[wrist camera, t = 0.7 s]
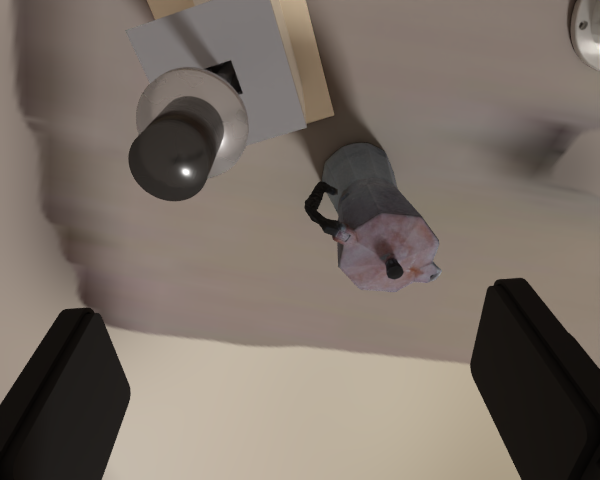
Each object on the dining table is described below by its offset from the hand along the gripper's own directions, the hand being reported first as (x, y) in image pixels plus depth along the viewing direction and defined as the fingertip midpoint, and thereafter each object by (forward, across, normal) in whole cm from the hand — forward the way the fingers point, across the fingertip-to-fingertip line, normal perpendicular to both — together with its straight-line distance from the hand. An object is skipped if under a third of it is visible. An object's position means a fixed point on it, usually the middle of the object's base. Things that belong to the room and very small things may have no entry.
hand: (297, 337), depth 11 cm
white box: (+42, +4, -1) cm, 42 cm away
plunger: (+32, +4, -1) cm, 33 cm away
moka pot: (+42, -8, +14) cm, 45 cm away
